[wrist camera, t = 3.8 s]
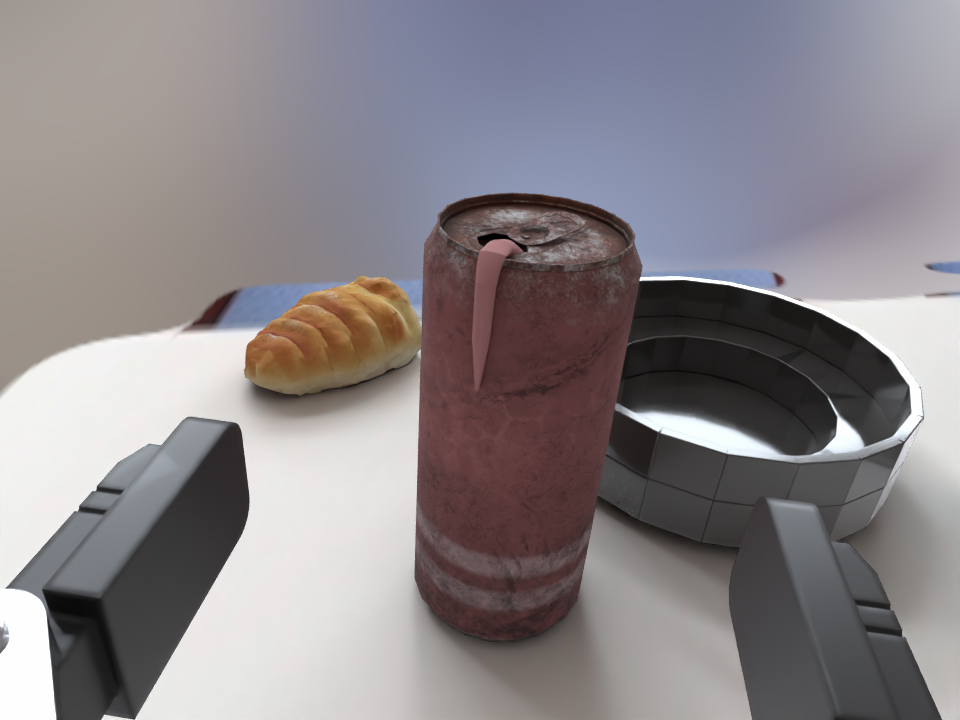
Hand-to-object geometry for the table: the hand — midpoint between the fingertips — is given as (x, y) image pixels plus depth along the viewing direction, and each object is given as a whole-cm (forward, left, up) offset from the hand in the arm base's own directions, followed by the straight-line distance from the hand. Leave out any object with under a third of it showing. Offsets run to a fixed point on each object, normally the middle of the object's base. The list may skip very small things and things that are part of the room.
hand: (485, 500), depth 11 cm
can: (0, -10, -13) cm, 17 cm away
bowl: (-9, -21, -13) cm, 27 cm away
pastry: (+10, -24, -13) cm, 30 cm away
